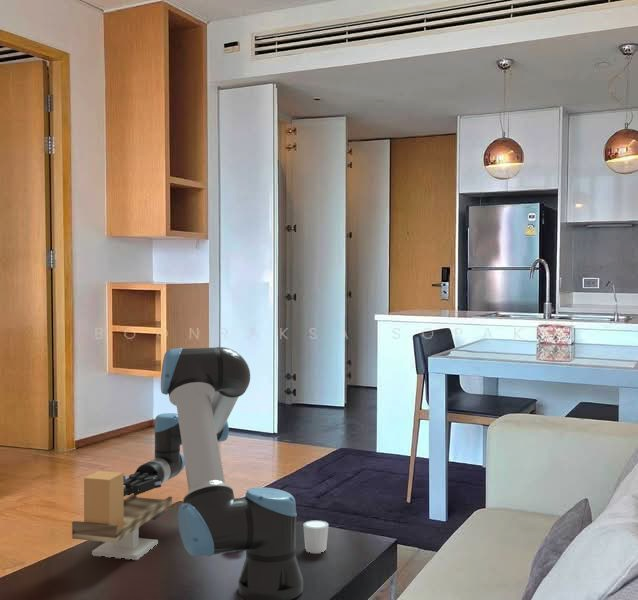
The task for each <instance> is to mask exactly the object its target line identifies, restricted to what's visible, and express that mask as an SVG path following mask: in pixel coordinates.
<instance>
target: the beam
mask: <svg viewBox="0 0 638 600" xmlns="http://www.w3.org/2000/svg"><path fill="white" fill-rule="evenodd" d="M137 496H138V495H134V493H133V494H131V495H128V497H126V498H124V527H122V528H121V529H119V530H118V531H117V525H113V524H102V523H92V522H84V521H80V520H73V521H71V534H72V535H71V539H73V540H74V539H75V540H80V541H81V540H83V541H92V542H93V541H94V542H102V543H105V542H112V543H116V542H118V541H119V540H121V539H122V538H124V537H125V536H127V535H128V534H130V533H131V532H132V531H134V530H135V529H137V528H138V527H139V528H140V527H141V526H142V525H144V524H145V523H147V522H149V521H150V520H155V521H156V520H158V519H159V518H160V517H162V516H163V515H164V514H166V513H165V512H166V511H165V510H166V509H167V508H169V507H170V506H172V505H173V497H172V496H168V497H166V498H165V499H161V498H149V497H148V498H147V497H137Z"/></svg>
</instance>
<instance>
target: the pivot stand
mask: <svg viewBox="0 0 638 600" xmlns="http://www.w3.org/2000/svg"><path fill="white" fill-rule="evenodd" d="M139 530H140V527H138V528H137V529H135V530H134V531H132V532H131V533H130V534H128V535H127V536H125V537H124V538H122V539H121V540H119V541H118V542H116V543H112V542H102V544H100V545H99V546H97V547H96V548H95V549H93V550H91V555H93V557H101V556H105V557H104V558H111V557H115V558H114V559H121V558H125V559H124V560H130V559H132V561H138V560H139V559H141V558H142V557H143V556H145V555H146V554H147V553H149V552H150V551H151V550H152V549H154V548H155V547H156V546H158V545H159V540H158V539H153V538H152V539H151V538H141V537H139V534H140V532H139ZM157 544H158V545H157ZM155 545H156V546H155ZM154 546H155V547H154ZM153 547H154V548H153ZM150 549H151V550H150ZM149 550H150V551H149ZM144 554H145V555H144ZM140 557H141V558H140Z"/></svg>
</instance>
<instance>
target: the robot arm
mask: <svg viewBox="0 0 638 600" xmlns="http://www.w3.org/2000/svg"><path fill="white" fill-rule="evenodd" d="M250 381H251V370H250V367H249V364H248V363H247V361H246V360H245V359H244V357H243V356H242V355H241V354H240V353H238V352H237V351H235V350H233V349H231V348H228V347H224V346H223V347H222V346H216V347H197V348H196V347H194V348H193V347H192V348H191V347H190V348H184V347H180V348H179V347H178V348H170V349H168V350H166V352H165V353H164V355H163V359H162V365H161V373H160V392H161V394H163V395H165V396H167V395H168V397H169V402H170V403H171V404H172V405H173V406H175V407H176V410H177V411H176V412H177V413H174V412H173V413H171V412H166V413H165V412H164V413H160V414H157V415H156V417H155V419H154V430H153V431H154V432H153V433H154V458H153V459H151V460H149V461H147V462H145V463H143V464H141V465H140V466H138V467H137V468H136V470H135V472H134V473H132V474H129V476H126V475H124V497H126V496H131V495H133V494H134V495H137V496H139V495H140V494H143V493H146V492H149V491H152V490H154V489H158V488H161V487H162V484H163V483H165V482H167V481H169V480H171V479H173V478H175V477H177V476H178V475H179V474H180V473H181V472H182V471H183V470H184V469H185V475H186V481H187V489H188V491H187V493H186V494H185V495H184V496H183V500H182V501H183V503H182V504H180V505H179V507H178V510H177V520H178V528H179V529H178V530H179V534H180V539H181V542H182V544H183V547H184V549H185V550H186V552H187V554H189V555H191V556H192V557H204V556H206V557H207V556H208V557H211V556H215V555H220V554H226V553H228V552H233V553H235V552H243V551H245V560H244V563H243V566H242V568H241V571H240V575H239V578H238V581H237V582H238V584H237V586H238V588H237V589H238V594H239V595H240V596H241V597H242V598H244V599H245V600H294V599H296V598H297V597H299V596H301V594H302V593H303V590H304V578H303V575H302V572H301V569H300V566H299V563H298V559H297V556H296V555H297V552H296V549H297V516H298V514H297V509H296V508H297V507H296V499H295V497H294V496H293V495H292V494H291V493H290V492H287V491H286V490H282V489H277V488H272V487H265V486H264V487H262V486H261V487H260V486H259V487H252V488H249V489H248V490H246V493H245V496H244V497H238V498H237V497H235V494H234V489H233V488H232V487H231V486H229V485H227V483H226V481H225V474H224V470H223V465H222V463H223V462H222V457H221V452H220V446H219V442H220V443H221V442H225V441H227V439H228V437H229V433H230V432H229V431H230V430H229V428H230V427H229V423H228V419H229V417H230V415H231V413H232V411H233V409H234V407H235V405H236V403H237V401H238V398H239V397H242V396H243V395H244V394H245V393H246V392H247V390H248V387H249V385H250V384H251V383H250ZM181 446H182V452H181Z"/></svg>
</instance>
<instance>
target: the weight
mask: <svg viewBox="0 0 638 600" xmlns="http://www.w3.org/2000/svg"><path fill="white" fill-rule="evenodd" d="M124 474H125V473H124V472H121V471H120V472H119V471H117V472H116V471H104V470H98V471H96V472H94V473H91V474H90V475H88V476H85V477H84V478H83V522H92V523H102V524H113V525H117V531H118V530H119V529H121V528H122V527H124V499H125V498H124V497H125V496H124V476H125V475H124Z"/></svg>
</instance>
